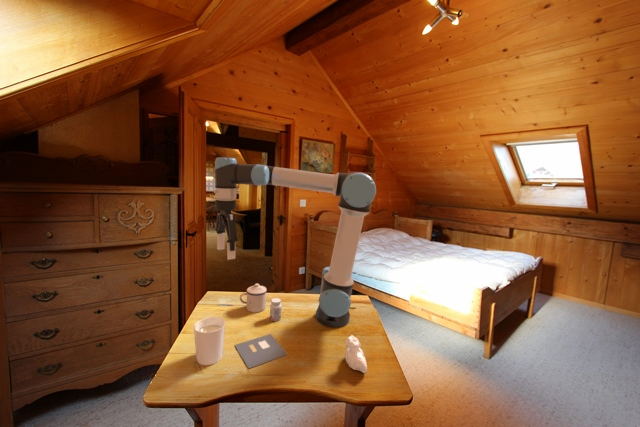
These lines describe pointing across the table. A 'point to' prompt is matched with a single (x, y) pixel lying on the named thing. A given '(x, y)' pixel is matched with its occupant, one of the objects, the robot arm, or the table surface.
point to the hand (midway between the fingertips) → (225, 254)
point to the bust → (355, 355)
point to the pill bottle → (275, 309)
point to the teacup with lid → (255, 298)
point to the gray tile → (260, 351)
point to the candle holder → (209, 340)
